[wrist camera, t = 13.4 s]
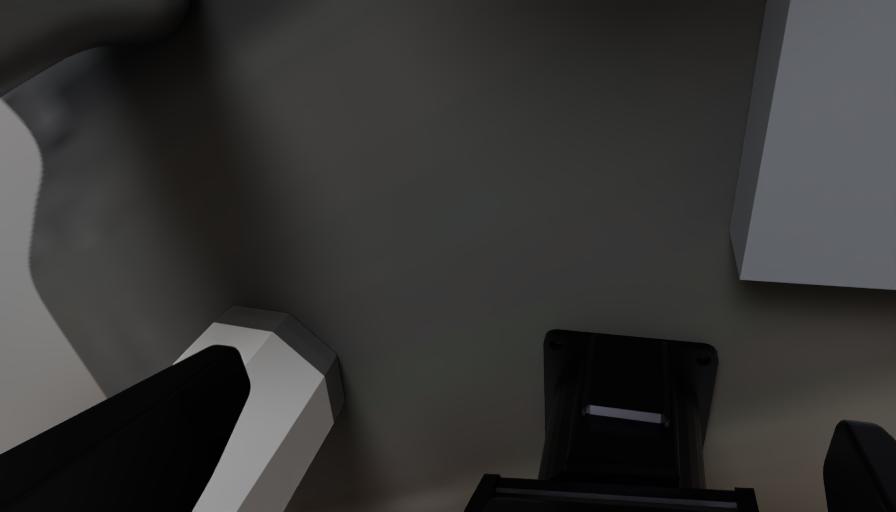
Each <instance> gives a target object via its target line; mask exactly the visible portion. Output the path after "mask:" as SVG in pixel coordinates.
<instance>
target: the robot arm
mask: <svg viewBox="0 0 896 512" xmlns="http://www.w3.org/2000/svg"><path fill="white" fill-rule="evenodd" d="M554 340H556V341H559V342H561V344H555V343H553V342H552V341H554ZM543 345H544V392H545V443H544V448H543V454H542V459H541V465H540V470H539V475H538V479H520V478H502V477H501V476H500V475H499V474H484V475H483V477H482V479H481V481H480V483H479V485H478V486H477V488H476V490H475V492H474V493H473V495H472V497H471V499H470V501H469V503H468V504H467V506H466V508H465V510H464V512H759V510H758V505H757V501H756V496H755V492H754V488H736V487H735V491H732V490H714V489H706V484H705V473H704V462H703V446H704V440H705V435H706V429H707V423H708V417H709V412H710V406H711V400H712V394H713V389H714V383H715V377H716V371H717V366H718V356H717V351H716V349H715V348H714V347H713V346H711V345H709V344H705V343H696V342H685V341H675V340H664V339H654V338H643V337H632V336H622V335H611V334H601V333H590V332H579V331H569V330H558V329H555V330H550V331H548V332H547V333H546V335H545V340H544V344H543ZM701 355H706V356H708V358H705V359H701V358H698V357H699V356H701ZM250 389H251V383H250V379H249V376H248V374H247V371H246V368H245V365H244V362H243V360H242V357H241V354H240V352H239V350H238V349H237V348H236V347H233V346H226V345H218V344H217V345H211V346H209V347H207V348H205V349H203V350H201V351H199V352H197V353H195V354H193V355H191V356H189V357H187V358H186V359H184V360H182V361H180V362H178V363H176V364H174V365H172V366H170V367H168V368H166V369H164V370H162V371H160V372H158V373H157V374H155V375H153V376H151V377H149V378H147V379H145V380H143V381H141V382H139V383H137V384H135V385H133V386H131V387H130V388H128V389H126V390H124V391H122V392H120V393H118V394H116V395H114V396H112V397H110V398H108V399H106V400H105V401H102V402H101V403H99V404H97V405H95V406H93V407H91V408H89V409H87V410H85V411H83V412H81V413H79V414H78V415H76V416H74V417H72V418H70V419H68V420H66V421H64V422H62V423H60V424H58V425H56V426H54V427H52V428H50V429H48V430H47V431H45V432H43V433H41V434H39V435H37V436H35V437H33V438H31V439H29V440H27V441H25V442H23V443H22V444H19V445H18V446H16V447H14V448H12V449H10V450H8V451H6V452H4V453H2V454H0V512H192V511H193V509H194V507H195V506H196V504H197V502H198V500H199V499H200V497H201V495H202V493H203V492H204V490H205V488H206V486H207V485H208V483H209V481H210V479H211V477H212V475H213V473H214V471H215V469H216V467H217V465H218V463H219V461H220V459H221V457H222V454H223V452H224V450H225V448H226V446H227V443H228V441H229V439H230V437H231V435H232V432H233V430H234V428H235V426H236V424H237V421H238V419H239V417H240V415H241V413H242V411H243V408H244V406H245V404H246V402H247V400H248V397H249V394H250ZM823 479H824V487H825V494H826V500H827V507H828V512H896V440H895V439H894V438H893V437H892V436H891V435H889V434H888V433H887V432H886V431H885V430H884V429H883V428H882V427H880V426H879V425H877V424H874V423H868V422H860V421H852V420H842V421H840V422H839V423H838V424H837V426H836V428H835V431H834V434H833V437H832V440H831V443H830V446H829V449H828V452H827V455H826V458H825V462H824V467H823Z"/></svg>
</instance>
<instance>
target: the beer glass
mask: <svg viewBox="0 0 896 512" xmlns="http://www.w3.org/2000/svg"><path fill="white" fill-rule="evenodd" d="M190 4H191V0H0V97H2V96H4V95H5V94H7V93H9V92H10V91H12V90H14V89H15V88H17V87H18V86H20V85H22V84H23V83H25V82H26V81H28V80H30V79H31V78H33V77H34V76H36V75H38V74H39V73H41V72H43V71H44V70H46V69H48V68H50V67H51V66H53V65H55V64H56V63H58V62H60V61H62V60H63V59H65V58H68V57H70V56H73V55H75V54H77V53H80V52H82V51H86V50H89V49H93V48H97V47H104V46H118V45H136V44H146V43H151V42H156V41H159V40H161V39H163V38H165V37H167V36H168V35H170V34H171V33H173V32H174V31H175V30H176V29H177V28H178V27H179V26H180V24H181V23H182V22H183V20H184V18H185V17H186V15H187V12H188V10H189V7H190Z"/></svg>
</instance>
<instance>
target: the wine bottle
mask: <svg viewBox="0 0 896 512" xmlns="http://www.w3.org/2000/svg"><path fill="white" fill-rule="evenodd" d="M217 344H218V345H226V346H233V347H236V348H237V349H238V350H239V352H240V354H241V357H242V360H243V362H244V365H245V368H246V371H247V374H248V376H249V379H250V383H251V389H250V394H249V397H248V400H247V402H246V404H245V406H244V408H243V411H242V413H241V415H240V417H239V419H238V421H237V424H236V426H235V428H234V430H233V432H232V435H231V437H230V439H229V441H228V443H227V446H226V448H225V450H224V452H223V454H222V457H221V459H220V461H219V463H218V465H217V467H216V469H215V471H214V473H213V475H212V477H211V479H210V481H209V483H208V485H207V486H206V488H205V490H204V492H203V493H202V495H201V497H200V499H199V500H198V502H197V504H196V506H195V507H194V509H193V511H192V512H283V511H284V509H285V507H286V506H287V504H288V502H289V501H290V499H291V497H292V495H293V494H294V492H295V490H296V488H297V487H298V485H299V483H300V481H301V480H302V478H303V476H304V474H305V473H306V471H307V469H308V468H309V466H310V464H311V462H312V461H313V459H314V457H315V455H316V454H317V452H318V450H319V448H320V447H321V445H322V443H323V441H324V440H325V438H326V436H327V434H328V433H329V431H330V429H331V428H332V426H333V424H334V422H335V420H336V419H337V417H338V415H339V413H340V411H341V408H342V406H343V403H344V401H345V398H344V392H343V387H342V381H341V376H340V370H339V365H338V359H337V354H335V353H334V352H333V351H332V350H331V349H330V348H329V347H327V346H326V345H325V344H324V343H323V342H322V341H320V340H319V339H318V338H317V337H316V336H315V335H314V334H312V333H311V332H310V331H309V330H308V329H307V328H306V327H304V326H303V325H302V324H301V323H300V322H299V321H297V320H296V319H295V318H294V317H293V316H292V315H291V314H289V313H283V312H277V311H270V310H264V309H257V308H251V307H244V306H238V305H233V306H232V307H230V308H229V309H228V310H226V311H225V312H224V313H223V314H222V315H221V316H220V317H219V318H218V319H217V320H216V321H215V322H214V323H213V324H212V325H211V326H210V327H209V328H208V329H207V330H206V331H205V332H204V333H203V334H202V335H201V336H200V337H199V338H198V339H197V340H196V341H195V342H194V343H193V344H192V345H191V346H190V347H189V348H188V349H187V350H186V351H185V352H184V353H183V354H182V355H181V356H180V358H179V359H178V360H177V361H176V362H175V363H174V364H176V363H178V362H180V361H182V360H184V359H186V358H187V357H189V356H191V355H193V354H195V353H197V352H199V351H201V350H203V349H205V348H207V347H209V346H211V345H217ZM174 364H173V365H174Z"/></svg>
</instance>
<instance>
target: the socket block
mask: <svg viewBox="0 0 896 512" xmlns="http://www.w3.org/2000/svg"><path fill="white" fill-rule="evenodd" d="M729 233H730V237H731V242H732V246H733V251H734V255H735V260H736V264H737V269H738V274H739V278H740V280H752V281H768V282H783V283H798V284H813V285H829V286H844V287H859V288H874V289H890V290H896V0H767V1H766V7H765V13H764V19H763V25H762V31H761V37H760V44H759V50H758V56H757V62H756V68H755V74H754V81H753V87H752V93H751V99H750V105H749V111H748V117H747V124H746V130H745V136H744V142H743V148H742V154H741V161H740V167H739V173H738V179H737V185H736V191H735V198H734V204H733V210H732V216H731V222H730V228H729Z"/></svg>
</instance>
